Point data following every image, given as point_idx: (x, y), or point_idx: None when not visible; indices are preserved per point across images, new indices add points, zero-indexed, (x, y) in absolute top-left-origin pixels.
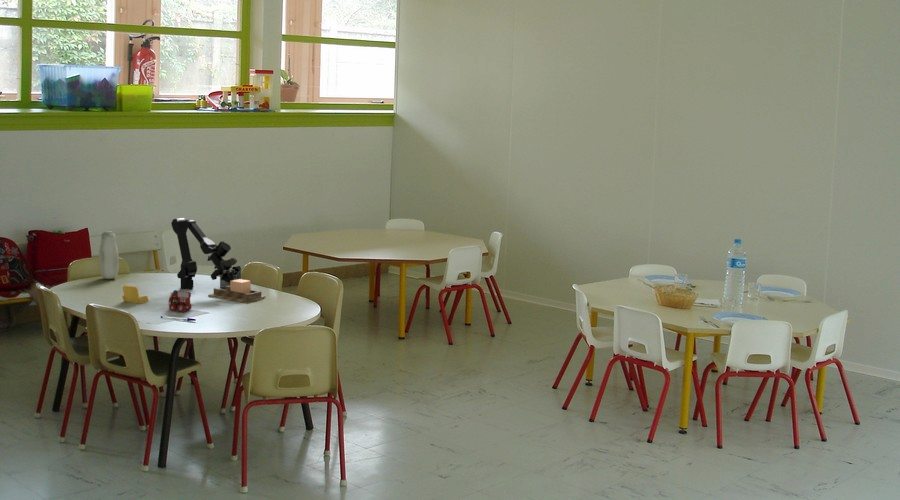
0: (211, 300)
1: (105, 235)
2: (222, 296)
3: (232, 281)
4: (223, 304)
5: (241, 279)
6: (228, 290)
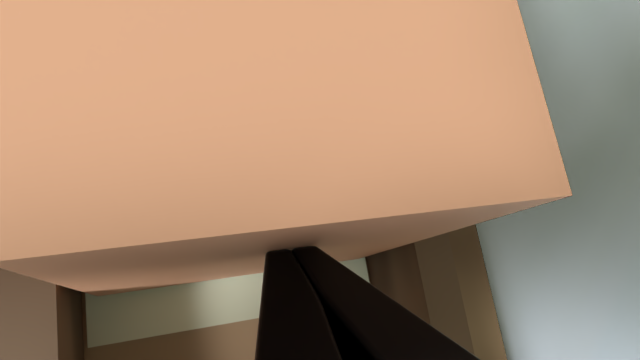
0: (621, 310)
1: None
2: (468, 323)
3: (535, 100)
4: (599, 39)
5: (30, 73)
6: (424, 282)
